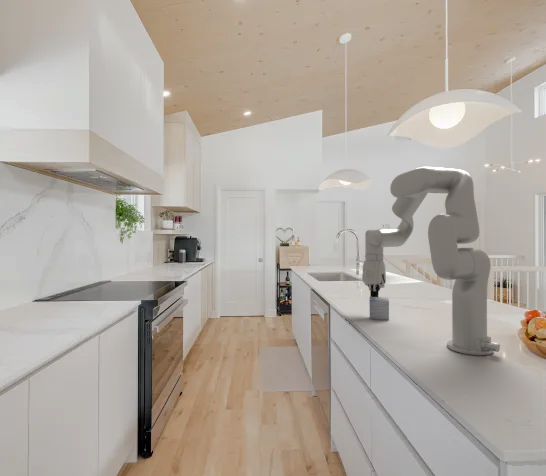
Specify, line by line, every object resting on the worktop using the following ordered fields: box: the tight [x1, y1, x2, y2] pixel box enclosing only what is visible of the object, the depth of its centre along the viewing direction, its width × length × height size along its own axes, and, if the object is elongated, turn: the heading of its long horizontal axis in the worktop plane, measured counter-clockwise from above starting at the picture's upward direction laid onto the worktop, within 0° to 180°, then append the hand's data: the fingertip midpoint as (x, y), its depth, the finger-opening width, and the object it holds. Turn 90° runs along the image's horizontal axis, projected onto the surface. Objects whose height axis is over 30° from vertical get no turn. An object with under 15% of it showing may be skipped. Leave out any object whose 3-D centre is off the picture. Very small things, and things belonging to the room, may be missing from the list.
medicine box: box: [369, 296, 390, 321], centre depth 150 cm, size 8×4×9 cm, turn 75°
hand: (374, 299), depth 154 cm, fingers closed
